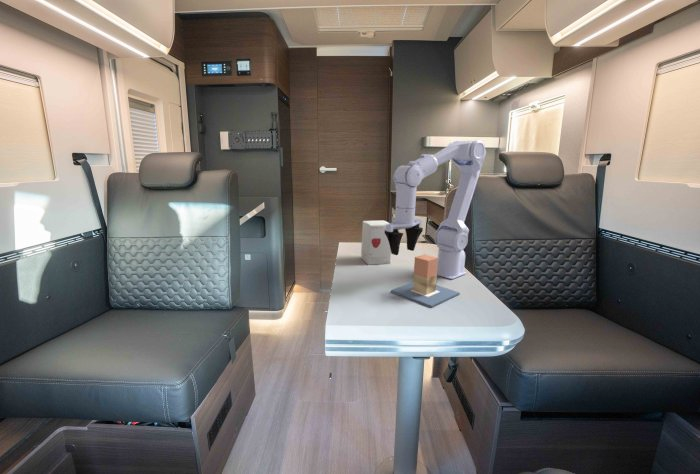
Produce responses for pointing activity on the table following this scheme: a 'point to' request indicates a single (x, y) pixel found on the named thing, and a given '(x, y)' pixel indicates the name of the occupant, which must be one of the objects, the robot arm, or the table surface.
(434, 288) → the oak block
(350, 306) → the table surface
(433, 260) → the terracotta block
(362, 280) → the table surface
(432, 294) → the board
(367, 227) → the supplement box
